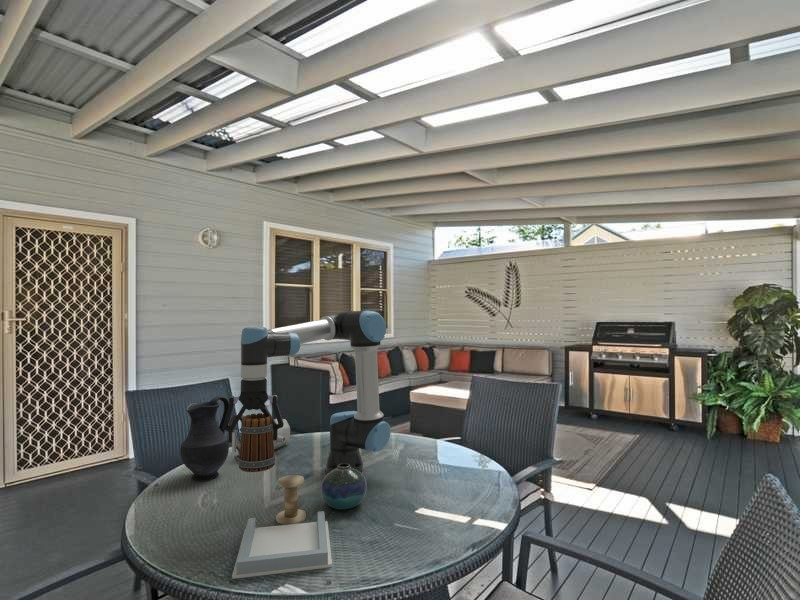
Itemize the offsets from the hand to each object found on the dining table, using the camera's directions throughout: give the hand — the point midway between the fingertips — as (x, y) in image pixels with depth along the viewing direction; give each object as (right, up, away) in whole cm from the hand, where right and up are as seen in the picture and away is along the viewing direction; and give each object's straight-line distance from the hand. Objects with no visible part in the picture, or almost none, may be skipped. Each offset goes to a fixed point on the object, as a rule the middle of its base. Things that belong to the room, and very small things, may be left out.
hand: (253, 452), depth 137 cm
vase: (+26, -23, +15) cm, 37 cm away
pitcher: (-31, -24, +43) cm, 58 cm away
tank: (-16, -24, +73) cm, 78 cm away
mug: (-1, -4, 0) cm, 4 cm away
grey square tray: (+13, -22, -13) cm, 28 cm away
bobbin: (+10, -22, +5) cm, 25 cm away
